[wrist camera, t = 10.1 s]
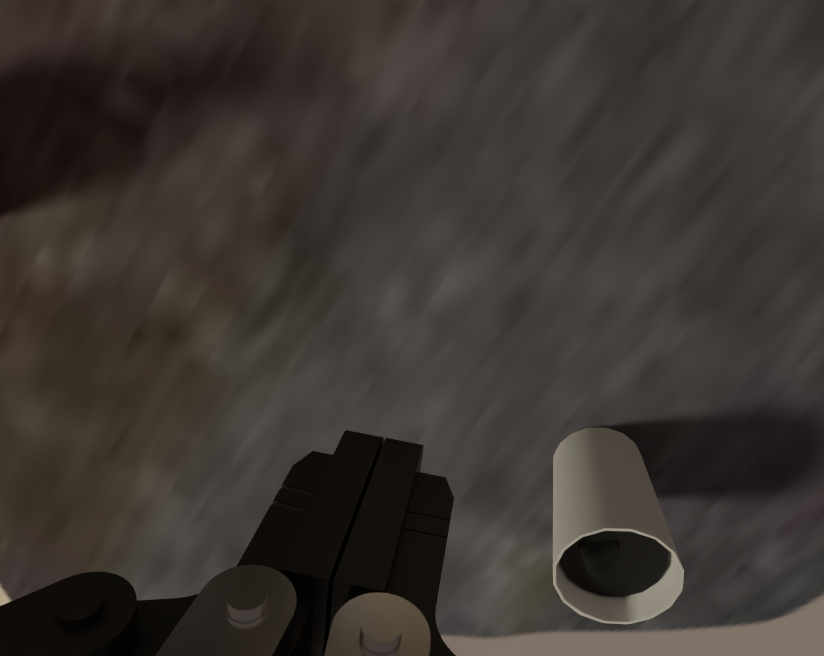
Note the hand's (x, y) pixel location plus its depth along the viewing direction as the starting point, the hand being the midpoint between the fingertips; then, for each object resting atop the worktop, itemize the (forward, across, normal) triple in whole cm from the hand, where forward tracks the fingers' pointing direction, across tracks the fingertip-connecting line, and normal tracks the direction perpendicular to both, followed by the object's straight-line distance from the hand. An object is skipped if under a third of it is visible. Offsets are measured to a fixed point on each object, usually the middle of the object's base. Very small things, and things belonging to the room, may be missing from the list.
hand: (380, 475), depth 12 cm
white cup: (+27, -11, +17) cm, 34 cm away
